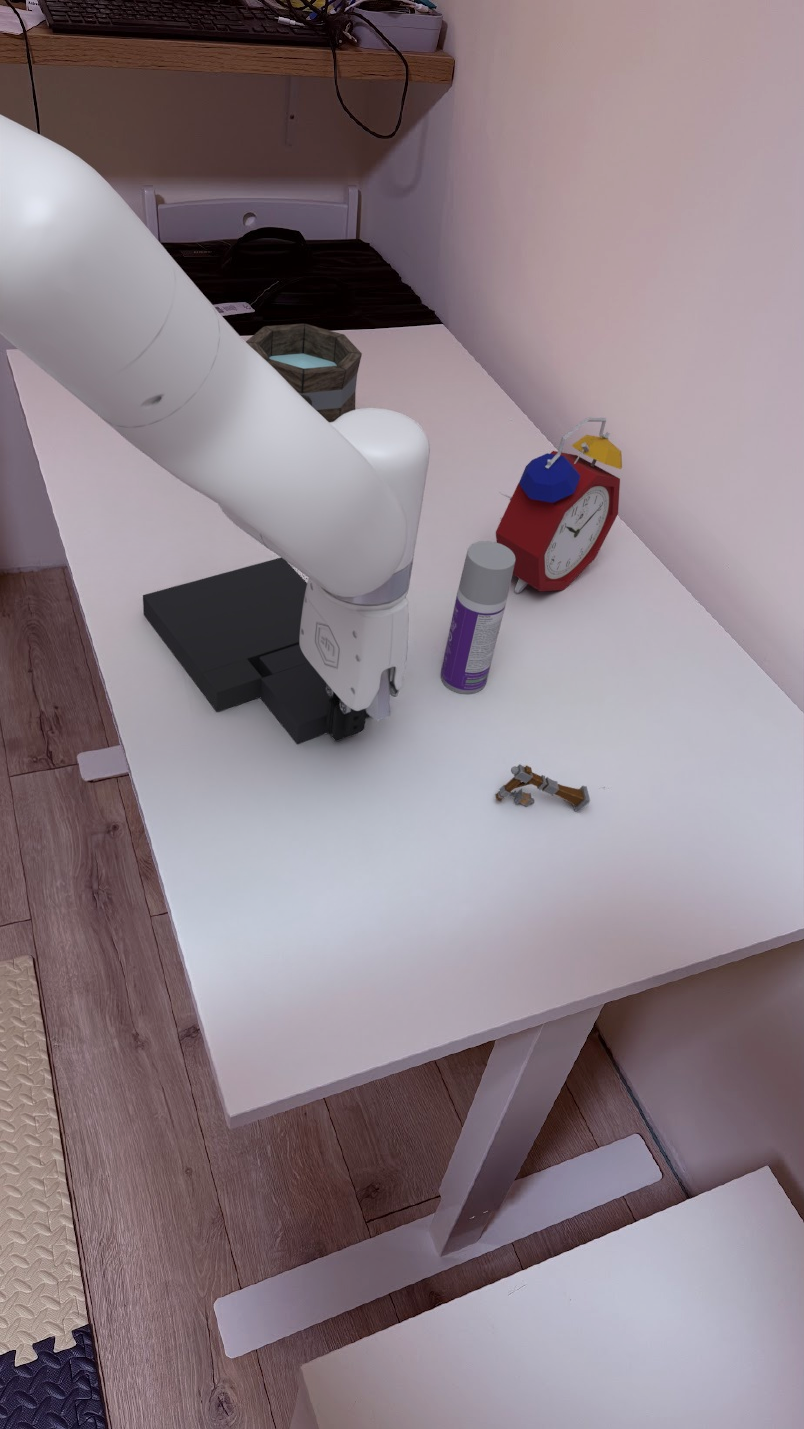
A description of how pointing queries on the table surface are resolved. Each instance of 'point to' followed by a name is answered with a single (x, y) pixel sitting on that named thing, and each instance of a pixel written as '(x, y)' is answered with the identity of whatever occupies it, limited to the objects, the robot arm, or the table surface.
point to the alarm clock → (561, 512)
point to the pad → (294, 693)
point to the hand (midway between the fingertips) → (344, 730)
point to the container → (477, 616)
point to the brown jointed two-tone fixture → (547, 785)
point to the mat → (229, 626)
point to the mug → (313, 364)
